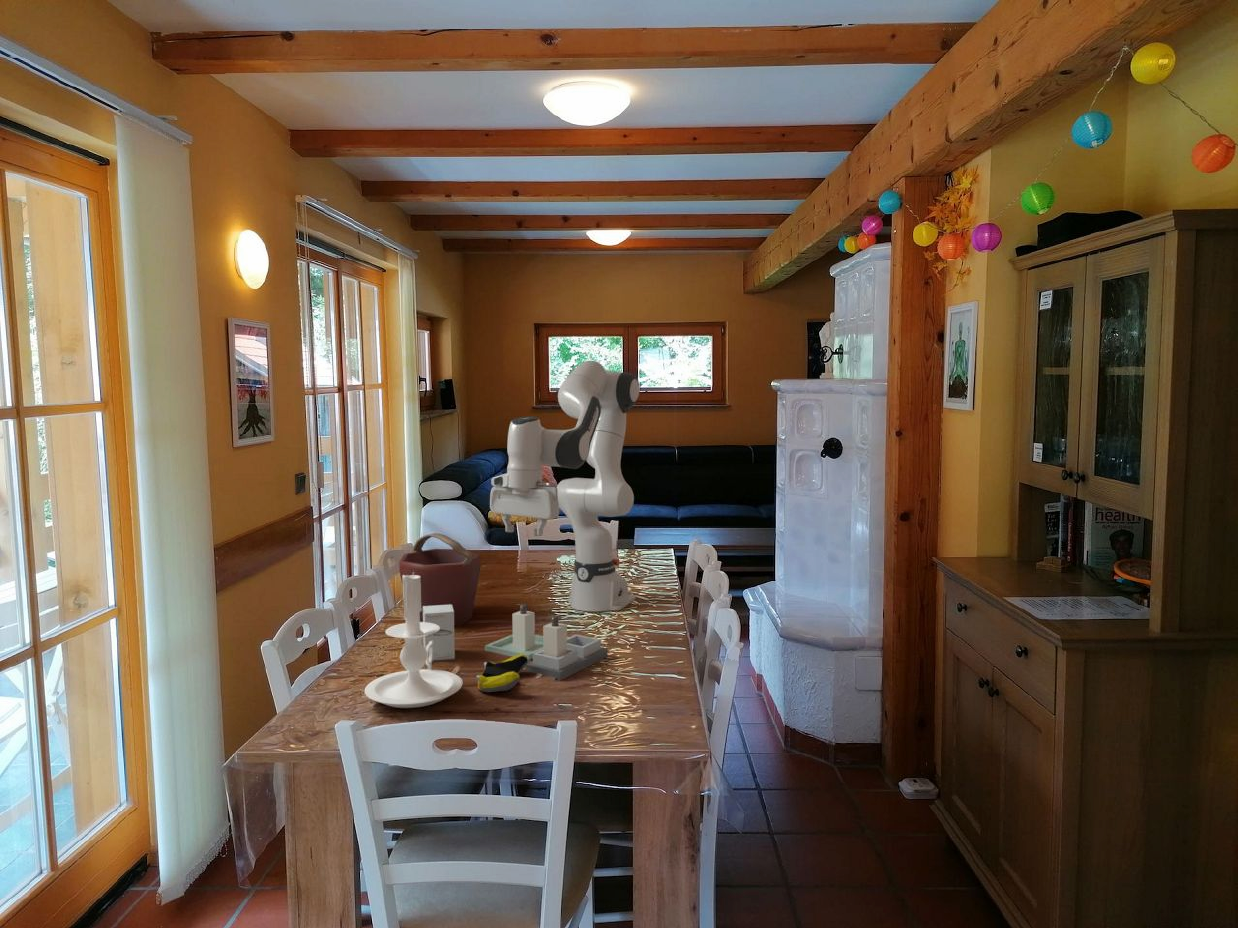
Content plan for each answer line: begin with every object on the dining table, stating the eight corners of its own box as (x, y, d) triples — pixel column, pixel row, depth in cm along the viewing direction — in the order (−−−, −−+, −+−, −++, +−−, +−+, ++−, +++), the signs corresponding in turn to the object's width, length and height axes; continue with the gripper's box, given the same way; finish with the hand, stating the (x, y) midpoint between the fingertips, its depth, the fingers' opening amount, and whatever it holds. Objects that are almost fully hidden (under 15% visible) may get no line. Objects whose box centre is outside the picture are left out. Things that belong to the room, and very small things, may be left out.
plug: (522, 643, 217) (522, 602, 216) (534, 646, 215) (534, 604, 214) (512, 648, 214) (512, 606, 213) (525, 650, 212) (524, 608, 211)
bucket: (491, 625, 236) (490, 537, 233) (415, 637, 224) (412, 546, 222) (460, 605, 257) (458, 524, 254) (388, 615, 245) (386, 531, 243)
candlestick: (476, 676, 195) (474, 558, 192) (449, 719, 171) (446, 585, 168) (389, 675, 196) (385, 557, 193) (350, 717, 172) (345, 584, 169)
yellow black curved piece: (529, 674, 197) (487, 673, 197) (529, 651, 196) (486, 651, 197) (518, 699, 182) (472, 698, 183) (518, 674, 181) (472, 673, 182)
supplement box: (424, 663, 204) (423, 613, 203) (423, 654, 211) (422, 605, 210) (455, 661, 206) (454, 611, 205) (453, 651, 213) (452, 603, 212)
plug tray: (519, 638, 224) (519, 631, 224) (562, 646, 217) (562, 640, 216) (484, 652, 212) (484, 645, 212) (528, 662, 205) (528, 655, 205)
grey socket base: (574, 649, 215) (574, 599, 213) (607, 656, 209) (607, 605, 208) (525, 672, 198) (525, 619, 196) (559, 680, 192) (559, 625, 191)
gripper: (564, 482, 211) (563, 536, 212) (502, 477, 222) (501, 528, 223) (549, 483, 206) (548, 539, 207) (486, 478, 217) (486, 531, 218)
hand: (523, 533), depth 215 cm, fingers open, 8 cm apart
